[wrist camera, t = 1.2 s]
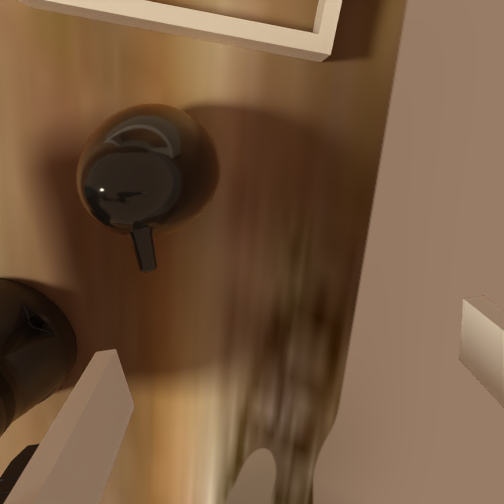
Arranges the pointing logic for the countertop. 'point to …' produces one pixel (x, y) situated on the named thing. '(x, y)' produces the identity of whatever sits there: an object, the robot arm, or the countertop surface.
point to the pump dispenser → (147, 175)
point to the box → (209, 24)
